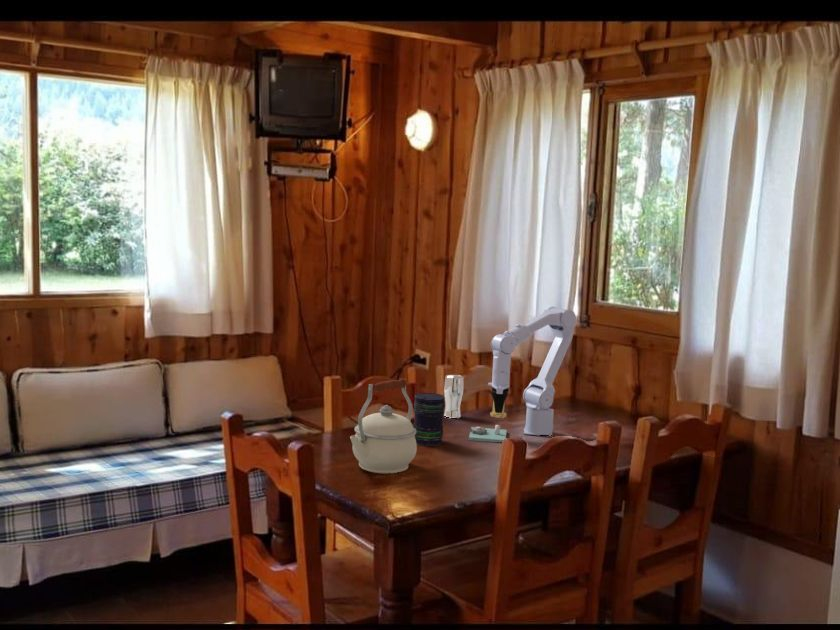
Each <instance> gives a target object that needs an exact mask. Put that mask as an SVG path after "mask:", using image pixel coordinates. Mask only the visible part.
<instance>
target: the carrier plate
mask: <svg viewBox="0 0 840 630" xmlns="http://www.w3.org/2000/svg"><path fill="white" fill-rule="evenodd" d="M505 438H506V439H507V429H502V428H501V425H500V424H495V427H494V428H489V427H487V428H486V427H482V426H471V427H470V430H469V436H468V441H473V442H474V441H475V442H486V443H487V442H488V443H497V442H499V443H500V442H502V441H503V440H504V439H505Z"/></svg>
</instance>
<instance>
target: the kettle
mask: <svg viewBox="0 0 840 630" xmlns="http://www.w3.org/2000/svg"><path fill="white" fill-rule="evenodd" d="M407 385H408V383H407V379H406V378H403V377H401V378H399V379H395V380H394V379H392V380H387V381H386V380H385V381H381V382H378V383H377V382H376V383H372V382H371V383H369V384H368V386H367V391H368V392H367V398H366V400H365V402H364V404H363V406H362V407H361V409H360V411H359V414H358V419H357V425H355V426H354V432H355V434H354V435H351V436H349V438H350V441H351V444H352V453H353V455H354V457H355V458H356V460H357V461H358V465H359V467H360V468H361V469H362V470H364V471H367V472H369V473H370V472H371V473H375V474H385V475H386V474H389V473H390V474H398V472H399V473H402V472H404V471H406V470H408V468H409V464H410V463H411V462H412V461H413V460H414V459H415V456H416V454H417V451H418V447H417V445H418V444H416V439H415V436H414V435H415V434H416V429H415V428H413V423H412V422H411V420H412V416H413V412H414V405H413V403H412V401H411V399H410V397H409V395H408V393H407ZM398 388H401V392H402V394H403V396H404V398H405V400H406V403H407V405H408V406H407V407H408V411H407V416H406V417H405V416H403V415H401V414H398V413H394V409H393V408H392V406H390V405H388V404H385V405H383V406H381V408H380V409H379V412H376V413H375V412H374V413H370V414H369V415H366V416H365V413H366V410H368V409H367V408H368V406H369V405H370V404H371V402H372V399H373V394H375V393H376V392H385V391H390V390H395V389H398Z"/></svg>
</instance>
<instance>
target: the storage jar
mask: <svg viewBox="0 0 840 630" xmlns="http://www.w3.org/2000/svg"><path fill="white" fill-rule="evenodd" d="M445 407H446V404H445V395H443V394H439V393H435V392H420V393H419V392H418V393H416V394H414V402H413V413H414V417H413V418H414V421H413V423H412V425H413V428H415V429H416V434H415V435H414V436H415V439H416V444H417V445H420V446H427V447H435V446H439V445H441V444H443V436H444V424H443V423H444V413H445Z"/></svg>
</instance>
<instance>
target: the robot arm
mask: <svg viewBox="0 0 840 630" xmlns="http://www.w3.org/2000/svg"><path fill="white" fill-rule="evenodd" d="M577 323H578V320H577V315H576V313H575V312H574V310H572V309H565V308H559V307H555V306H550V307H548V308H547V309H544V310H543V312H542V313H541V314H539V315H538V316H536V317H535V318H533V319H531V320H530V321H529V322H528V323H526V324H523V323H517V324H515V325H514V327H512V328H511V329H509V330H505V331H504V332H503V334H500V333H498V334H496V335H495V336H494V337H492V339H491V342H490V343H489V345H490V347H491V350H492V355H493V359H492V376H491V379H492V380H491V382H488V383H487V386H489V387H492V388H491V392H490V393H491V397H492V401H493V400H494V407H495V412H496V413H502V410H503V406H504V402H505V403H506V399H507V397H508V395H509V388H510V376H511V375H510V374H511V361H512V359H511V358H512V353H513V352H514V351H515V349H516V347H517V346H519V345H520V344H522V343H525V342H526V341H528V340H529V339H530V338H531V334H533V333H535V332H537V331H538V330H540V329H543V328H545V327H547V326H549V328H550V329H551V331H552V332H553V333H554V339H553V341H552V344H551V345H550V348H549V351H548V352H547V355H546V358H545V359H544V361H543V364H542V366H541V369H540V371H539V373H538V376H537V377H536V378H534V379H533V380H531V381H530V382H529V384H528V386H527V387H526V388H525V389H524V390H523V393H522V398H523V401H524V402H525V406H526V411H525V412H526V415H525V425H524V426H525V427H523V434H524V435H529V436H531V435H532V436H540V435H549V436H548V437H552V436H553V431H554V414H555V413H554V411H555V410H554V409H553V408H550V407H552V405H553V403H554V396H555V392H556V389H555V387H554V385H553V383H554V381H555V378H556V377H557V374H558V371H559V370H560V367H561V365H562V363H563V360H564V358H565V356H566V353H567V351H568V349H569V348H570V347H569V346H570V344H571V342H572V340H573V336H574V329H575V327H576V325H577ZM504 407H505V406H504ZM550 434H551V435H552V436H551V435H550Z"/></svg>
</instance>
